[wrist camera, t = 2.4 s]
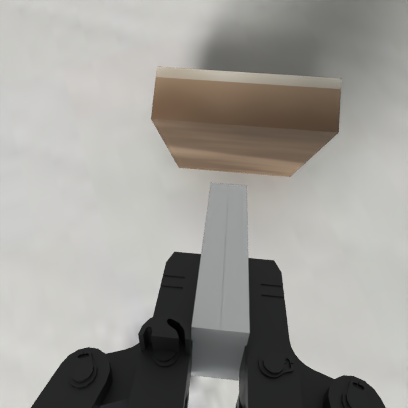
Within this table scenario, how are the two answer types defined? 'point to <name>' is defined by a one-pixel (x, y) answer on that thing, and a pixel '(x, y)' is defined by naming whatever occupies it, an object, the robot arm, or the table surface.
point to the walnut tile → (244, 119)
